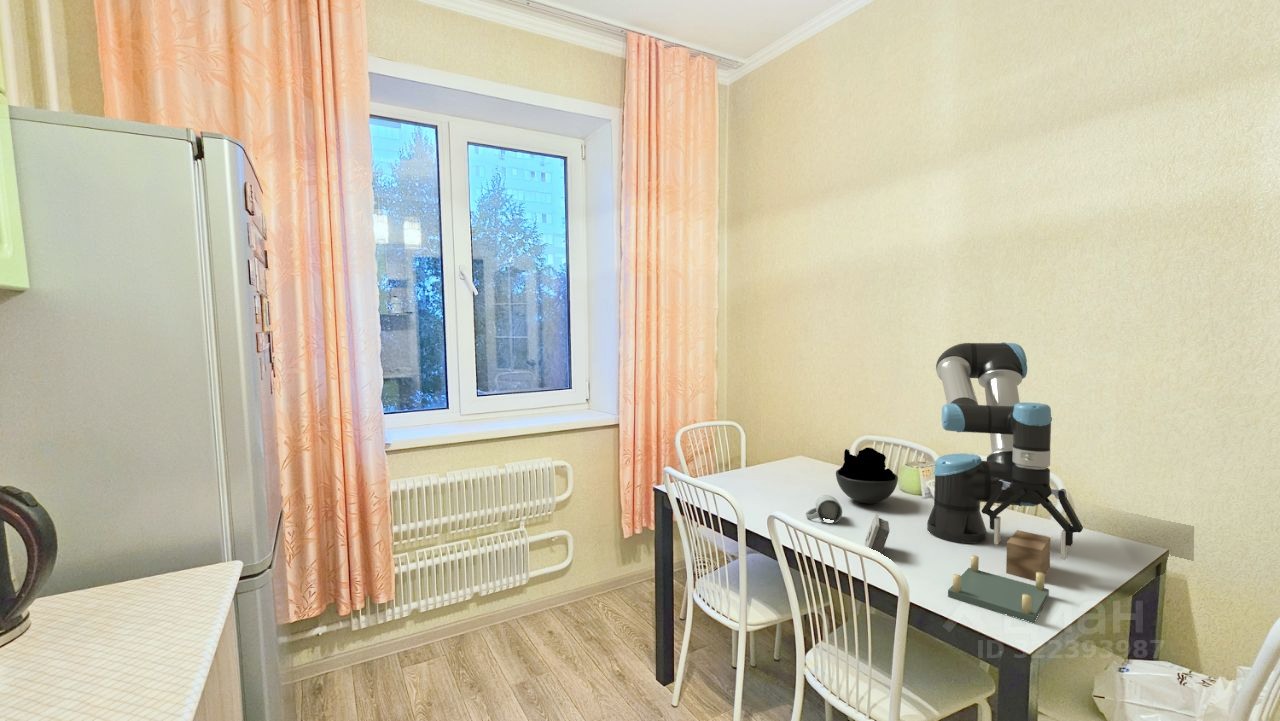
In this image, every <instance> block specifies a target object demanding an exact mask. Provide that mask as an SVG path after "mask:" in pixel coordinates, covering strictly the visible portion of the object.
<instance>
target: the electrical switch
mask: <svg viewBox="0 0 1280 721" xmlns="http://www.w3.org/2000/svg"><path fill="white" fill-rule="evenodd" d="M871 520H872V521H871V523H870V526H869V529H868V531H867V534H866V538H865V542H864V547H865V546H866V547H869V548H871V549H873V550H876V551H878V552H880V553H882V554H883V551H884V549H885V545H886V543H887V540H888V537H889V533H890V532H891V531H890V526H889V525H890V523H889V520H885V519H883V518H882V517H881V518H880V517H879V514H877V513H875V514H874V515H873V518H872V519H871Z"/></svg>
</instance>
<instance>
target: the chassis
mask: <svg viewBox="0 0 1280 721" xmlns="http://www.w3.org/2000/svg"><path fill="white" fill-rule="evenodd" d="M1045 578H1046V575H1045V574H1044V573H1041V572H1036V581H1035V585H1034V584H1030V583H1027V582H1024V581H1020V580H1015V579H1011V578H1009V577H1006V576H1005V577H1004V576H1002V575H1001V576H1000V575H997V574H994V573H991V572H986V571H983V570H979V556H978V555H974V554H972V555H971V556H970V567H968V568H967V569H966V570H965V571H964V572H963V573H962V574H961V575H960V574H957V573H955V574H952V585H951V586H950V587H949V588H948V590H947V597H948V598H951V599H955V600H958V601H959V602H963V603H966V604H970V605H972V606H977V607H980V608H983V609H986V610H990V611H992V612H994V613H995V612H996V613H999V614H1002V615H1005V614H1007V615H1006V616H1008V615H1010V616H1009V617H1011V616H1014V617H1017V618H1020V619H1019V620H1021V619H1024V620H1027V621H1029V622H1028V623H1030V622H1032V623H1031V624H1033V623H1034V622H1035V623H1036V621H1037V619H1038V617H1039V615H1040V613H1041V612H1042V610H1041V609H1043V608H1044V606H1045V604H1046V602H1047V600H1048V598H1049V596H1050V589H1049V588H1045V583H1046V582H1045ZM1045 601H1046V602H1045ZM1044 603H1045V604H1044ZM1043 605H1044V606H1043ZM1042 607H1043V608H1042ZM1038 614H1039V615H1038ZM1037 616H1038V617H1037ZM1014 617H1013V618H1014ZM1017 618H1016V619H1017ZM1036 618H1037V619H1036ZM1024 620H1023V621H1024ZM1035 620H1036V621H1035ZM1027 621H1026V622H1027ZM1035 623H1034V624H1035Z"/></svg>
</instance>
